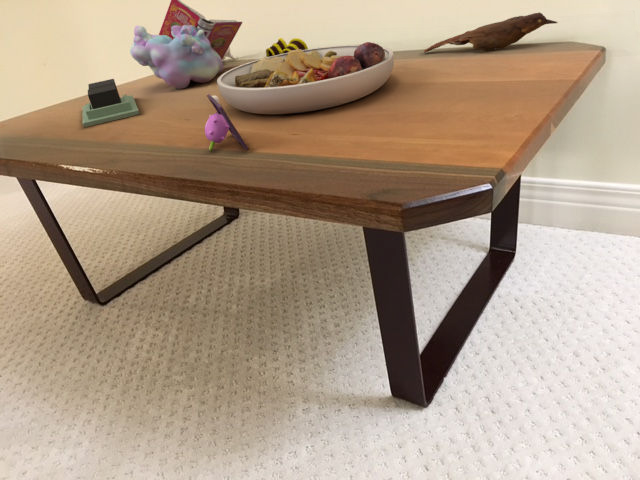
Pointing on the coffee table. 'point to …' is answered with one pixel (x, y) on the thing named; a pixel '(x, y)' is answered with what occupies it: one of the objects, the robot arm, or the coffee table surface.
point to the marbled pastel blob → (184, 46)
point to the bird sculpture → (498, 33)
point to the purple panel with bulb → (220, 125)
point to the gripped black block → (103, 96)
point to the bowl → (307, 79)
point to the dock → (109, 108)
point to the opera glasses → (285, 47)
